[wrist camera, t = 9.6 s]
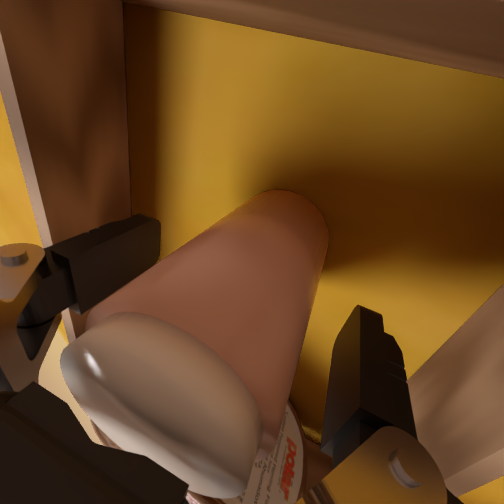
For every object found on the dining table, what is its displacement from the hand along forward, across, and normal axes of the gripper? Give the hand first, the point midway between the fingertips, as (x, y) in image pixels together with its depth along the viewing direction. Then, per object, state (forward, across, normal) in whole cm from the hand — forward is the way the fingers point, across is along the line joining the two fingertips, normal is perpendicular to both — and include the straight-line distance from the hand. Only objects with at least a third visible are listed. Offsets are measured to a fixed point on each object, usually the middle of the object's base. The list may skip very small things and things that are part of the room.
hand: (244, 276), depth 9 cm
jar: (+4, 0, 0) cm, 4 cm away
